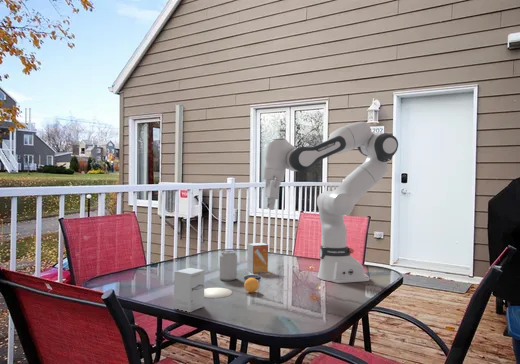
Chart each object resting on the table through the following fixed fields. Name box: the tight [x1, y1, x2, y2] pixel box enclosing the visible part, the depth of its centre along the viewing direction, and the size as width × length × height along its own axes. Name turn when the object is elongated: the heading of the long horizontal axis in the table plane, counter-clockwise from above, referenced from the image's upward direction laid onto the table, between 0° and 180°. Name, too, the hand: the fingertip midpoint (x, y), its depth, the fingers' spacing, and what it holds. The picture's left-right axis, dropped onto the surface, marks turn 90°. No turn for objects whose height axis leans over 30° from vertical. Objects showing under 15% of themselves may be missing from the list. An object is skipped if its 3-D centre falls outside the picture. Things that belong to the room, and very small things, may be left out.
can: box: [219, 250, 238, 282], centre depth 168 cm, size 8×8×12 cm
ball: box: [243, 277, 260, 294], centre depth 148 cm, size 6×6×6 cm
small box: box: [246, 242, 269, 274], centre depth 183 cm, size 8×6×13 cm
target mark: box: [204, 287, 233, 299], centre depth 147 cm, size 13×13×1 cm
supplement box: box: [173, 267, 206, 313], centre depth 129 cm, size 7×7×13 cm
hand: (270, 208), depth 163 cm, fingers open, 8 cm apart
